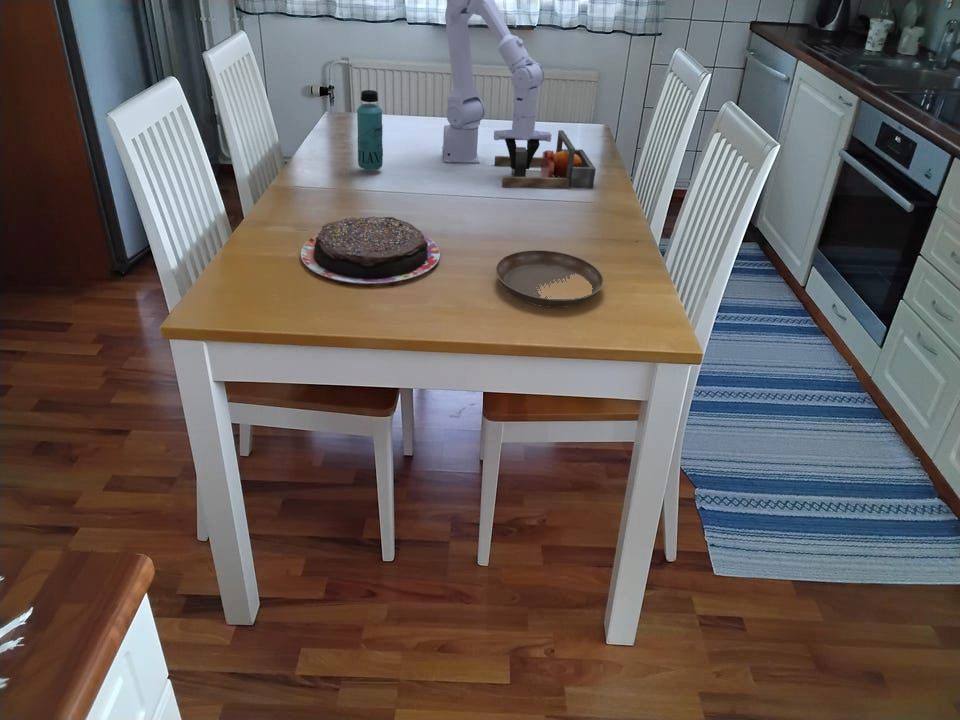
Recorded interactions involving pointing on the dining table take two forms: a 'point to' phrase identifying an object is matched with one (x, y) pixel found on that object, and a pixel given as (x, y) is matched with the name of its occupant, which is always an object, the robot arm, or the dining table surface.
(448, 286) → the dining table surface
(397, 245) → the chocolate cake
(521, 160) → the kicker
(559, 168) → the fruit
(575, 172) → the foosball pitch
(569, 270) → the plant saucer
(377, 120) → the beverage bottle
